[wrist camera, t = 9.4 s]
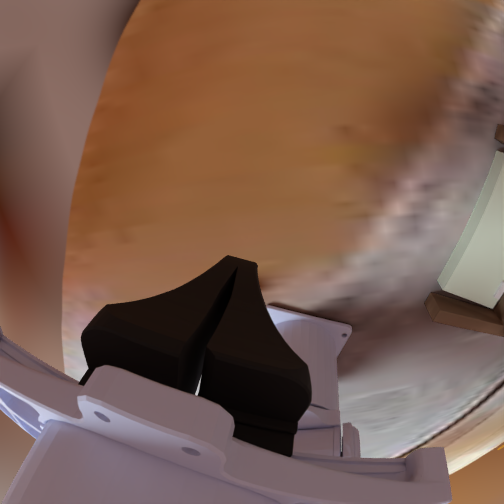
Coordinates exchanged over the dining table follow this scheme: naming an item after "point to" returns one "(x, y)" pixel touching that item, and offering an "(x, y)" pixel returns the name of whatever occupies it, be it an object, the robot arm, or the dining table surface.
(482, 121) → the dining table surface
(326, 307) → the dining table surface
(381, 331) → the dining table surface
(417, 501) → the robot arm
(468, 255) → the door
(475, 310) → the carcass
